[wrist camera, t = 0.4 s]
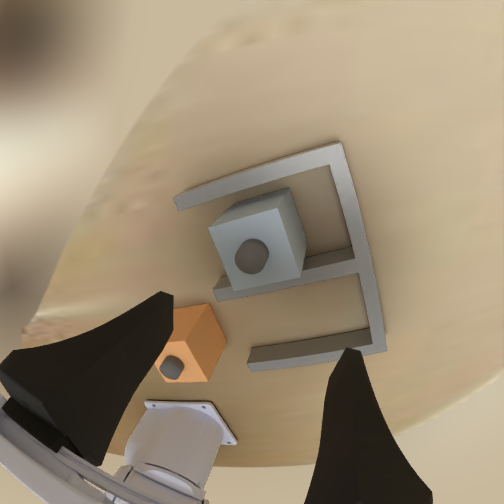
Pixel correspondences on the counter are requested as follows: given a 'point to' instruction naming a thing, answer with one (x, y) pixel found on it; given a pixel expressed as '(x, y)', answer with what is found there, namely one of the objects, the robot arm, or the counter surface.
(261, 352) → the e-shaped shelf rack
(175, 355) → the orange plug
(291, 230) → the seated plug
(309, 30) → the counter surface
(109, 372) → the robot arm
